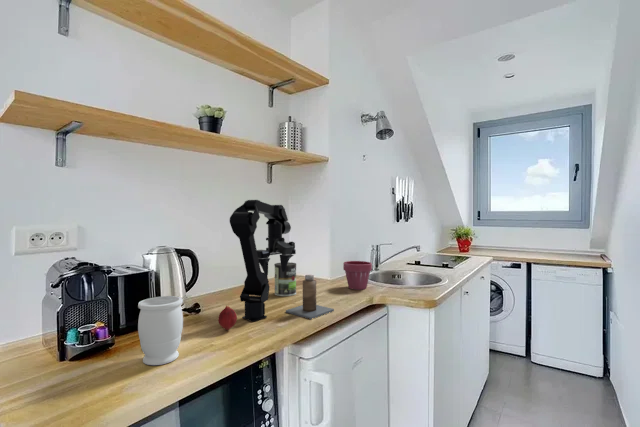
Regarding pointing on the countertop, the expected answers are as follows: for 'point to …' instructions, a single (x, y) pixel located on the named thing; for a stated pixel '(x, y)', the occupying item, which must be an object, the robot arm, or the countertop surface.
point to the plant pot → (357, 274)
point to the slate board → (299, 312)
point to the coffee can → (285, 280)
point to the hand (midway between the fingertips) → (275, 273)
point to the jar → (160, 328)
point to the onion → (227, 318)
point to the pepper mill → (309, 293)
